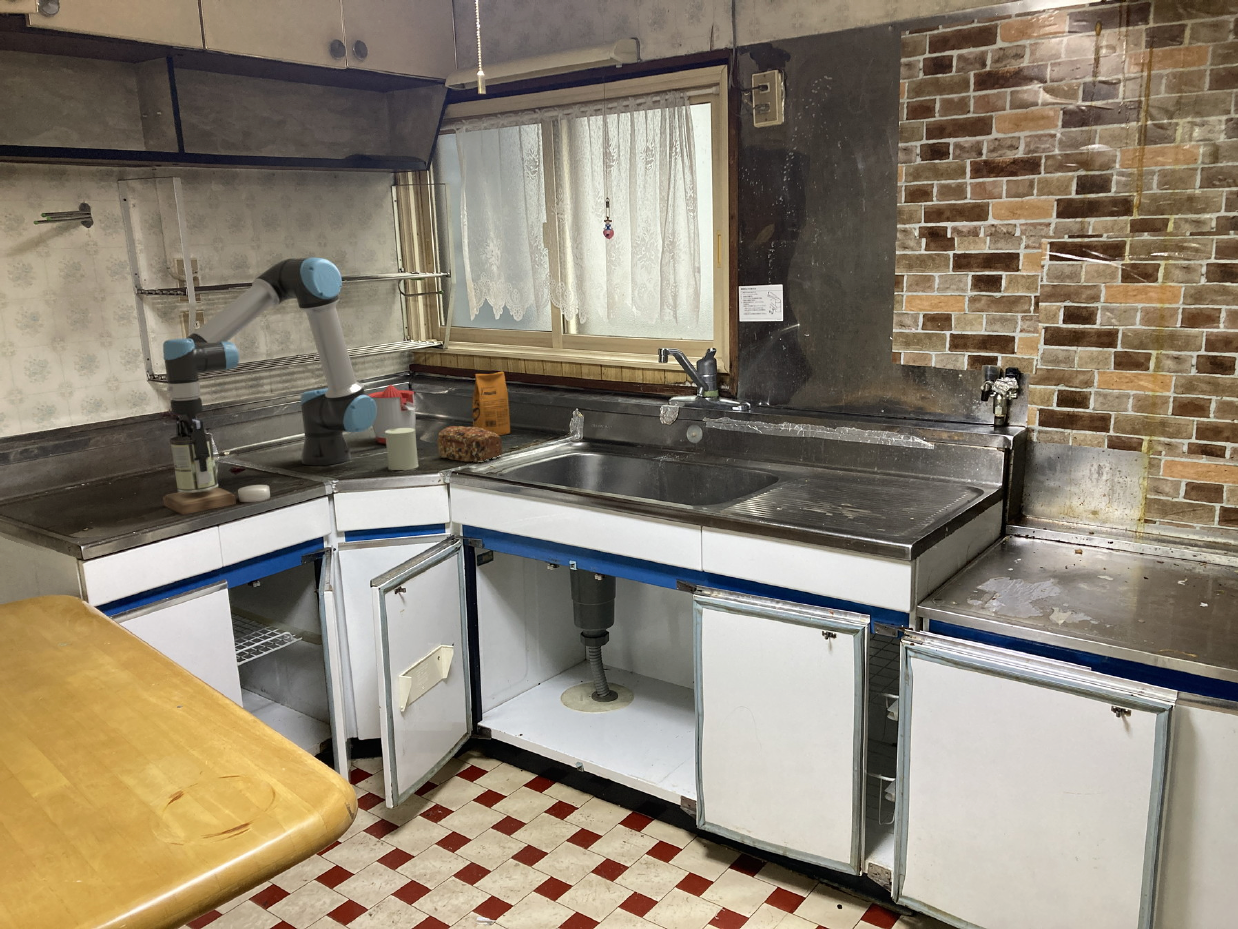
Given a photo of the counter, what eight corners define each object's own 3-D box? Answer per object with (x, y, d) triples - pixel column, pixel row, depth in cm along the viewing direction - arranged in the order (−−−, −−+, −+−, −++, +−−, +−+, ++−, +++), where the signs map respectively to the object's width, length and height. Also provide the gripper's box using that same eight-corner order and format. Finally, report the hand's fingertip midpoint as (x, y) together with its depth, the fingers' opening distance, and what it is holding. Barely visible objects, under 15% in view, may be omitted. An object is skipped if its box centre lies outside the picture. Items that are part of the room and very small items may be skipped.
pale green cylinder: (402, 463, 304) (399, 425, 301) (424, 465, 299) (421, 427, 297) (381, 469, 296) (378, 430, 294) (404, 471, 292) (400, 432, 289)
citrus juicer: (399, 447, 327) (394, 389, 323) (362, 444, 336) (357, 386, 332) (431, 439, 340) (426, 382, 336) (395, 435, 349) (390, 380, 345)
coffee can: (192, 483, 266) (185, 433, 263) (226, 483, 264) (219, 433, 261) (168, 492, 256) (161, 440, 253) (203, 493, 254) (196, 440, 251)
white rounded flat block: (263, 493, 272) (261, 483, 271) (275, 498, 266) (273, 488, 265) (234, 499, 267) (233, 488, 266) (246, 504, 261) (244, 493, 260)
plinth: (216, 495, 271) (214, 485, 270) (236, 503, 261) (234, 493, 260) (164, 505, 262) (162, 494, 261) (182, 514, 252) (180, 503, 251)
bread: (437, 458, 309) (435, 428, 307) (461, 452, 317) (458, 422, 315) (481, 464, 299) (479, 432, 296) (504, 457, 307) (502, 426, 305)
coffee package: (471, 433, 348) (467, 372, 343) (504, 430, 353) (500, 369, 348) (479, 438, 339) (474, 375, 334) (512, 434, 344) (509, 372, 339)
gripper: (156, 396, 261) (167, 476, 266) (186, 404, 244) (197, 489, 249) (184, 392, 265) (195, 471, 270) (216, 400, 249) (227, 484, 254)
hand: (196, 480), depth 260 cm, fingers closed on coffee can, 10 cm apart
